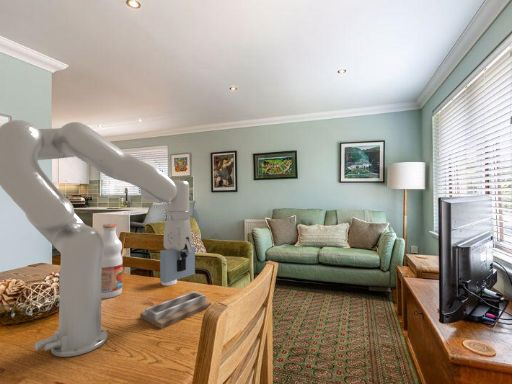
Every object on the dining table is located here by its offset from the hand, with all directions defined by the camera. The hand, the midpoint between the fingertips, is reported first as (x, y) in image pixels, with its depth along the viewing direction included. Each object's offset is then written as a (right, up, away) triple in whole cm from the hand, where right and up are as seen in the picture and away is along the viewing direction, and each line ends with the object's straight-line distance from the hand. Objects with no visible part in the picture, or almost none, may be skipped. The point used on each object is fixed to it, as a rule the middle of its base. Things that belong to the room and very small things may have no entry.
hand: (178, 269), depth 92 cm
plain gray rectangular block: (0, -3, 0) cm, 3 cm away
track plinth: (0, -15, 0) cm, 15 cm away
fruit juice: (-32, -15, +16) cm, 39 cm away
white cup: (-13, -15, +29) cm, 35 cm away
